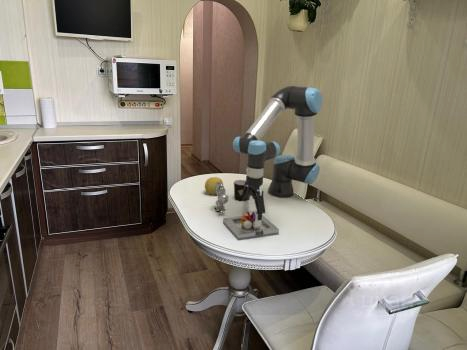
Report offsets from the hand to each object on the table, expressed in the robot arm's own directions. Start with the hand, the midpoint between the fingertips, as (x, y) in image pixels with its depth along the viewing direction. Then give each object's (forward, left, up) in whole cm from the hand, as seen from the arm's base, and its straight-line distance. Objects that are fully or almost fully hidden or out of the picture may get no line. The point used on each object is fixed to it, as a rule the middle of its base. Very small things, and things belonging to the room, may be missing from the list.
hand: (251, 219), depth 162 cm
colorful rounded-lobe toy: (0, 0, -3) cm, 3 cm away
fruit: (+1, -47, -5) cm, 47 cm away
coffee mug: (-12, -34, -4) cm, 36 cm away
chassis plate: (0, 0, -4) cm, 4 cm away
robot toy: (+6, -22, -4) cm, 23 cm away
